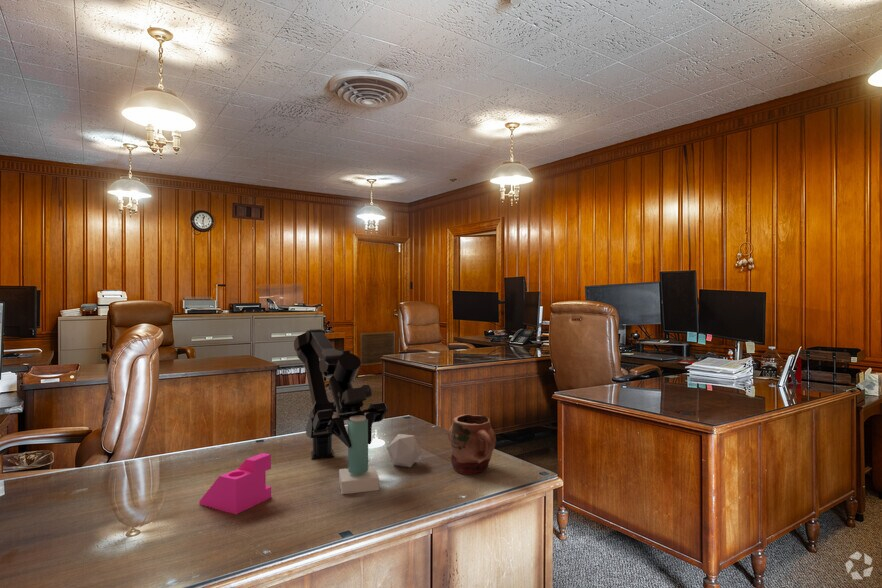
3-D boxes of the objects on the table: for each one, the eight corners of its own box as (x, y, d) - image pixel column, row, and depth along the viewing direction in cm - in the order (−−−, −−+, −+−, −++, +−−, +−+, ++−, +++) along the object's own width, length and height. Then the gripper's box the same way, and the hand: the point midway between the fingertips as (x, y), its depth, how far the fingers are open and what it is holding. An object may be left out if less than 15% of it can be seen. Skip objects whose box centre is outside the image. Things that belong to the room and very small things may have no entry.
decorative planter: (514, 477, 130) (513, 423, 130) (474, 486, 124) (473, 430, 124) (472, 456, 148) (472, 408, 148) (436, 463, 142) (435, 414, 142)
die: (426, 464, 143) (414, 431, 148) (422, 457, 135) (410, 423, 140) (398, 476, 142) (387, 443, 147) (393, 470, 135) (381, 435, 139)
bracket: (271, 497, 120) (270, 454, 120) (236, 514, 110) (235, 467, 110) (235, 489, 125) (235, 447, 125) (199, 505, 116) (198, 460, 116)
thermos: (344, 469, 126) (343, 417, 126) (361, 465, 130) (360, 413, 130) (355, 475, 123) (354, 420, 123) (372, 470, 126) (371, 417, 126)
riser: (339, 480, 129) (339, 469, 129) (374, 477, 132) (374, 465, 132) (341, 494, 121) (341, 481, 121) (379, 490, 123) (378, 477, 123)
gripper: (315, 378, 124) (331, 433, 115) (384, 371, 134) (403, 421, 125) (306, 404, 131) (320, 458, 122) (372, 396, 141) (390, 445, 132)
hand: (360, 445), depth 125 cm, fingers closed on thermos, 5 cm apart
